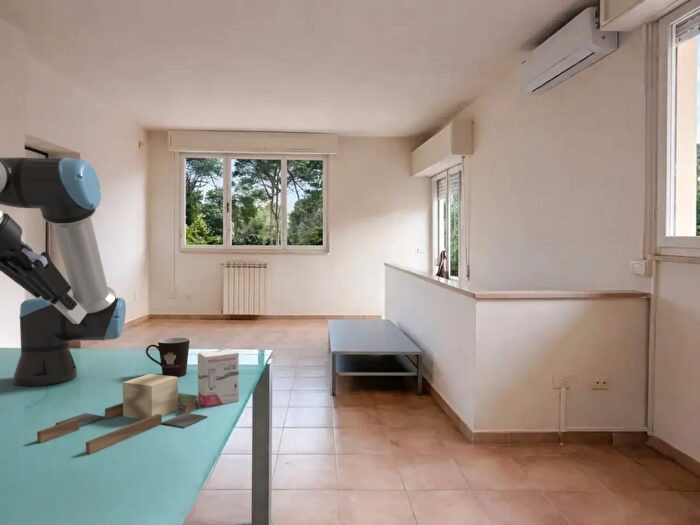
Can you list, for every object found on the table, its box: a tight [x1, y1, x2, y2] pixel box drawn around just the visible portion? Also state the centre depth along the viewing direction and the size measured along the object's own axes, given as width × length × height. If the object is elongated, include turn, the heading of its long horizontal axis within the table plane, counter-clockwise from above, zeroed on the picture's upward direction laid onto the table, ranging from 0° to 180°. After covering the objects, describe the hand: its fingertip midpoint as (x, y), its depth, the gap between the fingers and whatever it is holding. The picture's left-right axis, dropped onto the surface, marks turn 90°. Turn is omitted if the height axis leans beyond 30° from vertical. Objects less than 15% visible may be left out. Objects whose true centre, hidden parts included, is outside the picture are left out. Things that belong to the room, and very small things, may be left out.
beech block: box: [122, 373, 179, 420], centre depth 113 cm, size 8×8×8 cm
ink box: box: [197, 348, 240, 408], centre depth 121 cm, size 9×5×12 cm, turn 124°
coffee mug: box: [145, 337, 191, 378], centre depth 148 cm, size 12×9×10 cm
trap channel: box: [36, 392, 208, 455], centre depth 106 cm, size 26×28×3 cm
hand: (80, 317), depth 97 cm, fingers closed
